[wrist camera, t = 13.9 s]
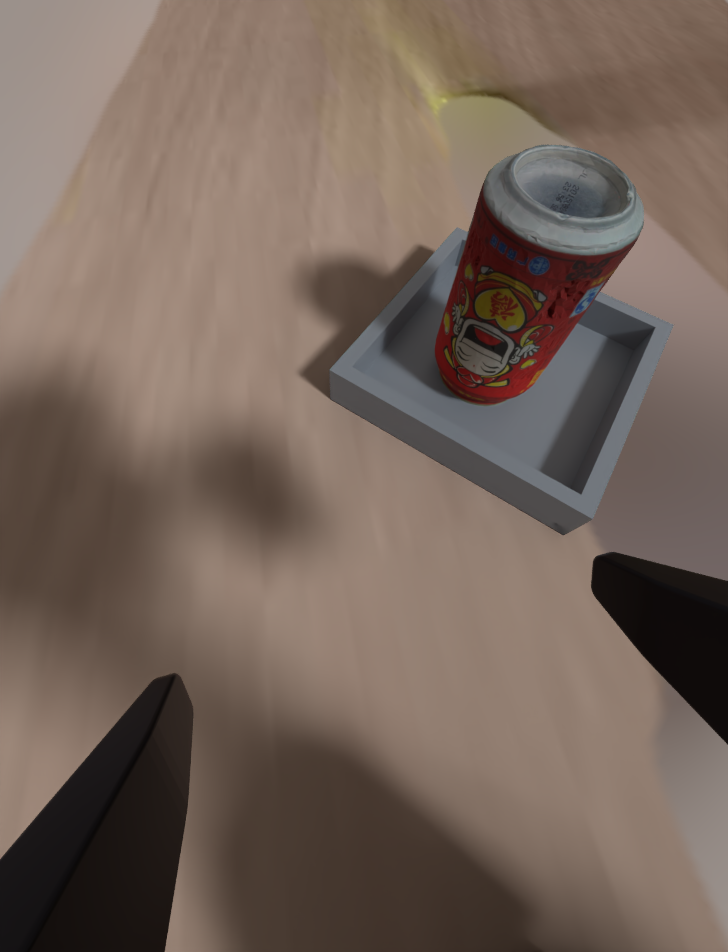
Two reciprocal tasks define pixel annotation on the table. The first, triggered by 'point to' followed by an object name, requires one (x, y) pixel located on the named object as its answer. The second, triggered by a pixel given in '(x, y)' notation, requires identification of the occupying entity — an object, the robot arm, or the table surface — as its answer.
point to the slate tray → (518, 419)
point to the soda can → (532, 267)
